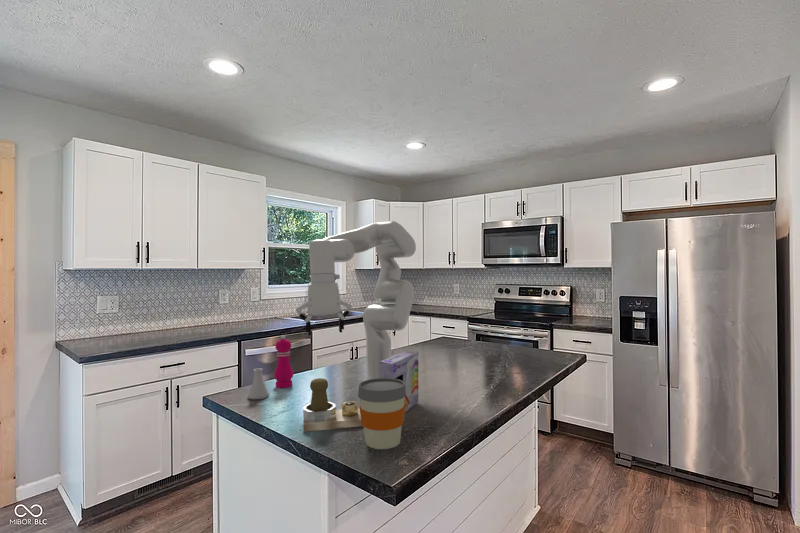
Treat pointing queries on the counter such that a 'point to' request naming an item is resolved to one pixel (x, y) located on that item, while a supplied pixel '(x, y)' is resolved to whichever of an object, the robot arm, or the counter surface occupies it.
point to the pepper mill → (283, 364)
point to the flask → (258, 386)
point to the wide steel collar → (319, 414)
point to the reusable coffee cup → (382, 411)
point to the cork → (319, 395)
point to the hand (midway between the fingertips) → (325, 333)
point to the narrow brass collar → (349, 409)
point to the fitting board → (334, 422)
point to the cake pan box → (403, 374)
